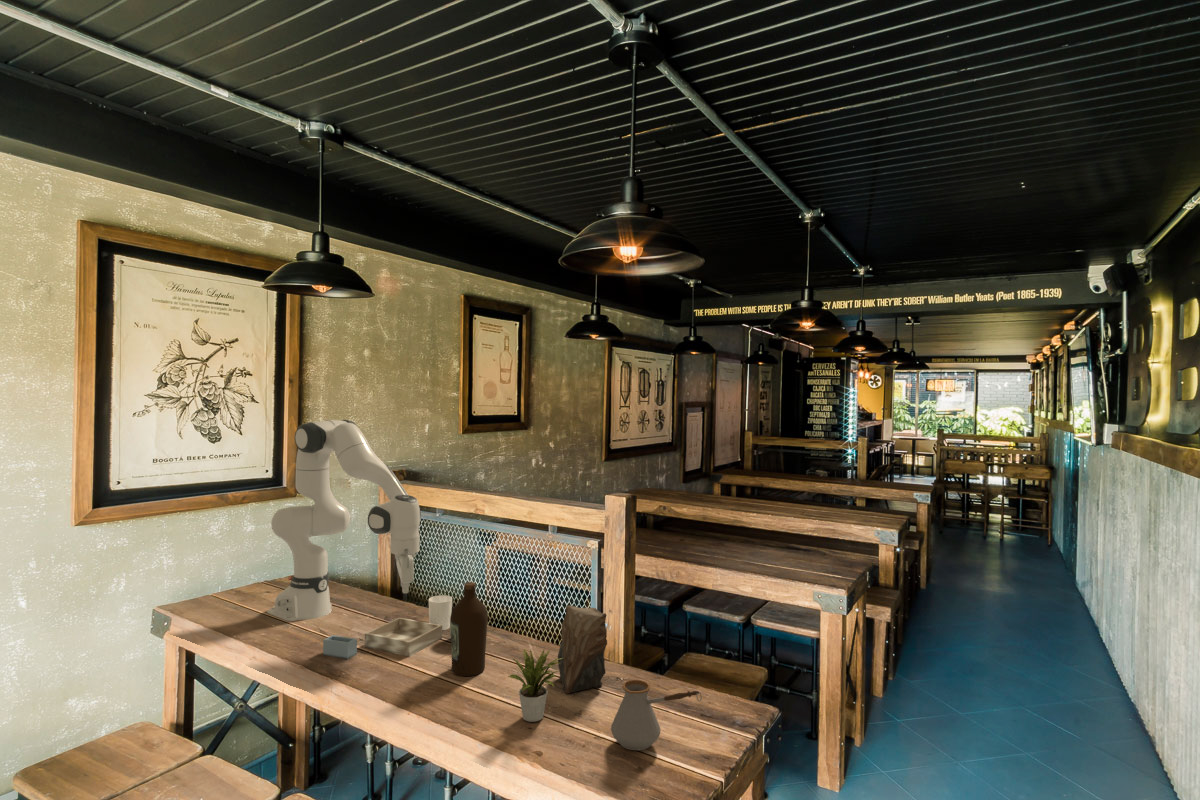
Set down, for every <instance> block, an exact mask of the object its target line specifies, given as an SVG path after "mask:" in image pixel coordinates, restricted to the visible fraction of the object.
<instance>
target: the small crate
mask: <svg viewBox="0 0 1200 800" xmlns="http://www.w3.org/2000/svg"><path fill="white" fill-rule="evenodd" d="M322 644H323V645H322V656H327V657H333V658H339V659H345V660H349V659H350V658H352V657H354V656H356V655H357V654H358V638H355V637H349V636H348V637H347V636H341V635H334V634H332V635H330V636H328V637H326V638H324V639H323V641H322Z"/></svg>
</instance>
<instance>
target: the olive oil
mask: <svg viewBox="0 0 1200 800" xmlns="http://www.w3.org/2000/svg"><path fill="white" fill-rule="evenodd" d="M463 586H464V587H463V597H462V598H461V599H460V600H459V601H458V602H457V603H456V604H455V606H453V607H452V611H451V619H450V623H451V636H450V641H451V642H450V643H451V644H450V645H451V650H450V651H451V672H452V674H454V675H456V676H459V677H473V676H476V675H479V674H481V673H483V672H484V670H485V669H486V652H487V651H486V650H487V649H486V648H487V636H488V635H487V634H488V617H489V615H488V614H489V613H488V610H487V608H486V606H485V604H484V603H483V602H482V601H481V600H480V599H479V598H478V597H477V596H476V589H477V588H476V583H475V582H472V581H468V582H465V583H464V584H463Z"/></svg>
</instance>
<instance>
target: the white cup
mask: <svg viewBox="0 0 1200 800" xmlns="http://www.w3.org/2000/svg"><path fill="white" fill-rule="evenodd" d="M452 605H453V597H452V596H449V595H445V594H444V595H435V596H431V597H429V598H428V619H429V623H432V624H438V625H442V631H446V630H448V629H449V630H450V616H451V613H452V610H453V606H452Z"/></svg>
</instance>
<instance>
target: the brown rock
mask: <svg viewBox="0 0 1200 800" xmlns="http://www.w3.org/2000/svg"><path fill="white" fill-rule="evenodd" d="M564 615H565V616H564V619H563V620H562V624H561V638H562V641H561V642H560V645H559V649H558V653H557V659H559V658H563V659H560V660H557V662H559V664H557V665H558V666H557V667H558V671H559V679H560V681H561V682H560V683H562V688H563V690H564V692H565V693H566V695H567V694H572V693H575V692H580V691H583V690H589V689H591V688H598V687H600V686H602V685H603V682H602V679H603V678H604V676H605V674H606V666H605V663H606V659H605V657H604V656H605V651H606V649H607V648H606V647H607V645H608V640H607V628H606V626H607V625H606V620H607V614H606V613H603V612H601V611H599V610H598V609H597V608H596V607H579V606H578V607H577V606H576V605H569V604H568V605H566V607H565V614H564Z"/></svg>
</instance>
